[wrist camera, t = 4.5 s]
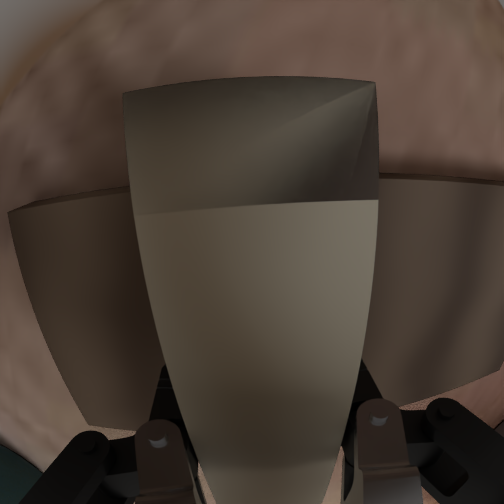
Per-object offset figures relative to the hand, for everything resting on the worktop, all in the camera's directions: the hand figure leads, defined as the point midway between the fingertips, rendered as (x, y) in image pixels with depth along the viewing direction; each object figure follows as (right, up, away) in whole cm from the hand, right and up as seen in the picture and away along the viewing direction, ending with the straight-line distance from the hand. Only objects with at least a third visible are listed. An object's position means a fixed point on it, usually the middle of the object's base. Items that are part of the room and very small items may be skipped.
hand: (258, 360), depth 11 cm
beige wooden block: (0, +2, +2) cm, 3 cm away
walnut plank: (+3, +1, +3) cm, 4 cm away
